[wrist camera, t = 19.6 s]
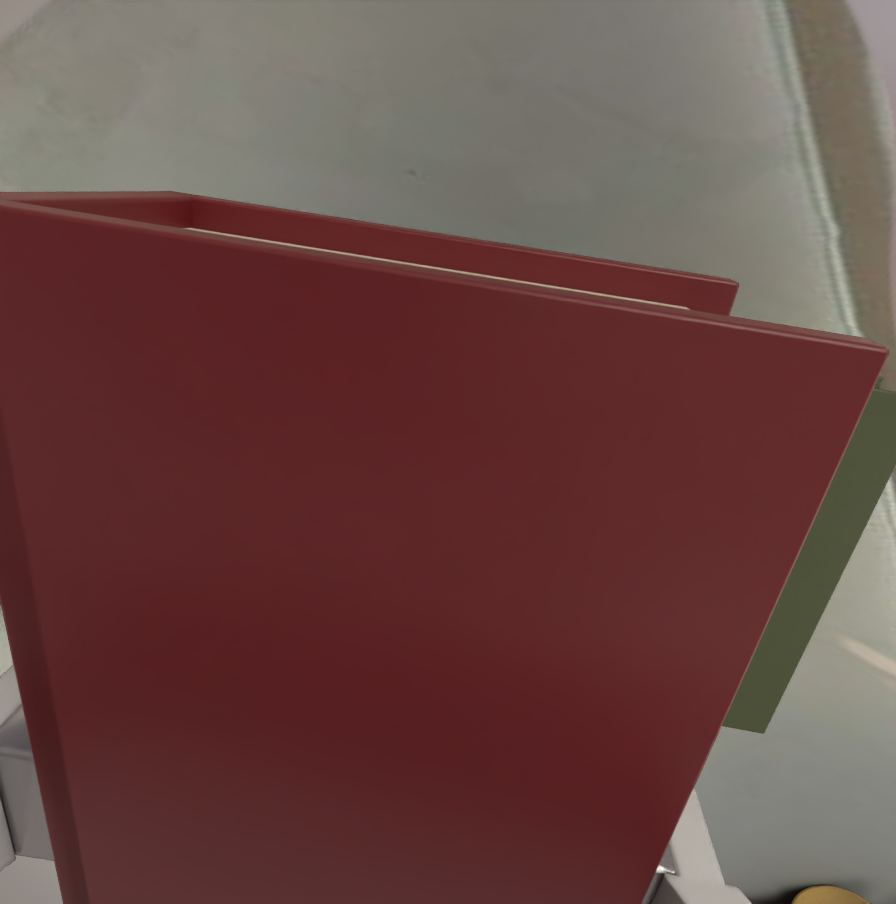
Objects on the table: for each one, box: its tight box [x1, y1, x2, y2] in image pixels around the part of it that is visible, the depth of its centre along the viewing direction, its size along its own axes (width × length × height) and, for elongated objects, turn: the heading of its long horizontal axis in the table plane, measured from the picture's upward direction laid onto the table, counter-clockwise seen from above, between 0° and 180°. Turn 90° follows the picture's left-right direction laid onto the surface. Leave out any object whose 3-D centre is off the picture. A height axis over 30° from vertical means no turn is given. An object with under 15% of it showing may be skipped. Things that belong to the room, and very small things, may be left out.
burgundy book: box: [0, 191, 889, 904], centre depth 8 cm, size 13×6×3 cm, turn 172°
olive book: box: [722, 376, 896, 733], centre depth 25 cm, size 16×12×3 cm
